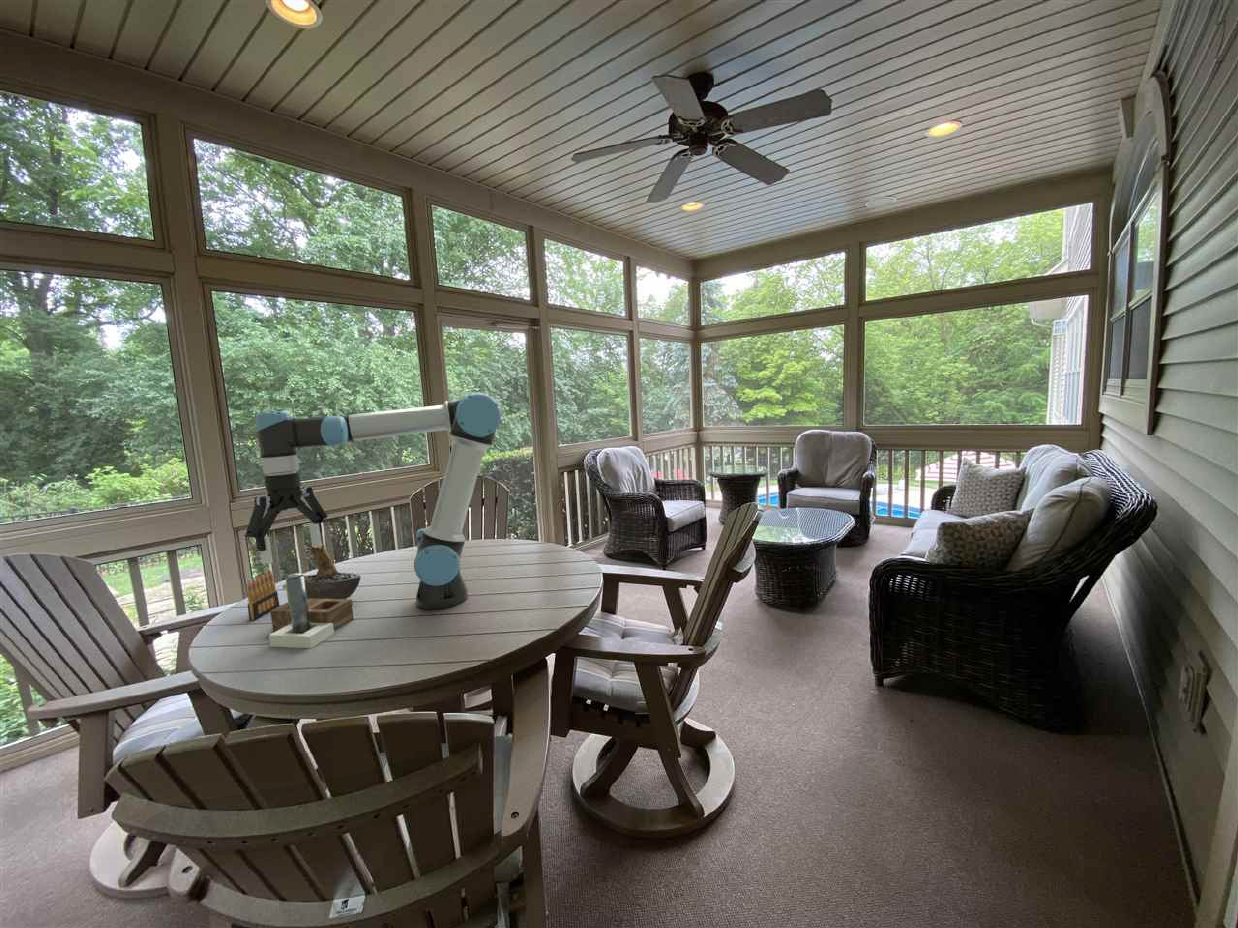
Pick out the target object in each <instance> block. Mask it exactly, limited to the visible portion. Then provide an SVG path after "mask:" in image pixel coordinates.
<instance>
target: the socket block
mask: <svg viewBox="0 0 1238 928" xmlns="http://www.w3.org/2000/svg"><path fill="white" fill-rule="evenodd" d="M307 603H308V611H309V619H310V622H312V623H333V628H334V632H336V631H338V630H339V629H340V628H341V629H342V627H344V626H346V625H347V624H349V623H351V622H352V621H354V620H355V619H354V611H353V610H354V609H353V602H352V599H351V598H347V599H311V598H307ZM269 613H270V619H271V620H270V621H271V628H272V633H274V632H276V631H278V630H280V629H282V628H283V627H285V626H287V625H289V624H291V615H290V608H289V606H288V601H287V602H285V603H284V604H281V605H279V607H277V608H275V609H273V610H271V611H270V612H269Z"/></svg>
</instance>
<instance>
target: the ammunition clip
mask: <svg viewBox="0 0 1238 928" xmlns="http://www.w3.org/2000/svg"><path fill="white" fill-rule="evenodd" d="M247 601H248V603H247V613H248V621H249V622H250V621H251V622H254V621H257V620H259V619H261V618H262V617H264V616H265V615H268V614H269V613H270V611H271V610H273V609H275V608H277V607H279V606H280V601H279V594H278V590H277V589H276V583H275V580H274V574H273V572H272V571H271V570H270V569H268V573H267V572H265V573H264V575H263V573H261V574H260V577H259V575H257V576H256V579H255V577H253V578H252V581H251V580H248V581H247Z"/></svg>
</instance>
